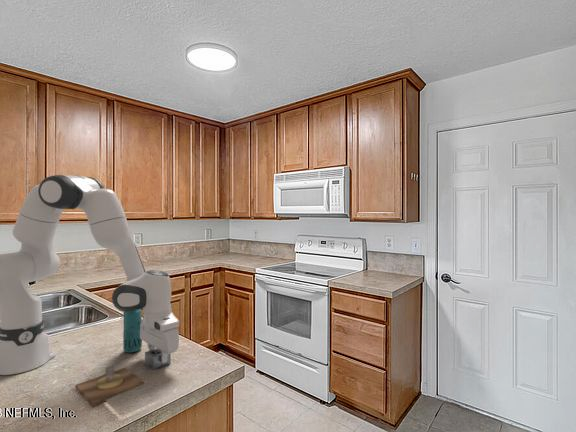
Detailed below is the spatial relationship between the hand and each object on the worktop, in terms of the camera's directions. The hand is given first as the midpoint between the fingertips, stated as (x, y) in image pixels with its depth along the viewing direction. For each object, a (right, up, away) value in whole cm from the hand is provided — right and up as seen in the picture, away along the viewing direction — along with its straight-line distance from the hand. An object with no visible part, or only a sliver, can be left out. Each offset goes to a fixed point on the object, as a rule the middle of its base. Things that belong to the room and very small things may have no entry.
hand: (158, 358), depth 110 cm
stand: (0, -3, 0) cm, 3 cm away
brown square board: (-9, -3, -13) cm, 16 cm away
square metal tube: (0, -2, 0) cm, 2 cm away
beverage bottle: (-14, -3, +10) cm, 17 cm away
